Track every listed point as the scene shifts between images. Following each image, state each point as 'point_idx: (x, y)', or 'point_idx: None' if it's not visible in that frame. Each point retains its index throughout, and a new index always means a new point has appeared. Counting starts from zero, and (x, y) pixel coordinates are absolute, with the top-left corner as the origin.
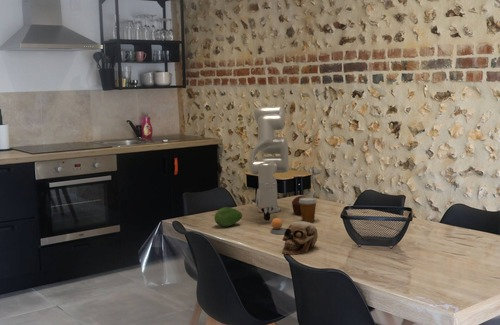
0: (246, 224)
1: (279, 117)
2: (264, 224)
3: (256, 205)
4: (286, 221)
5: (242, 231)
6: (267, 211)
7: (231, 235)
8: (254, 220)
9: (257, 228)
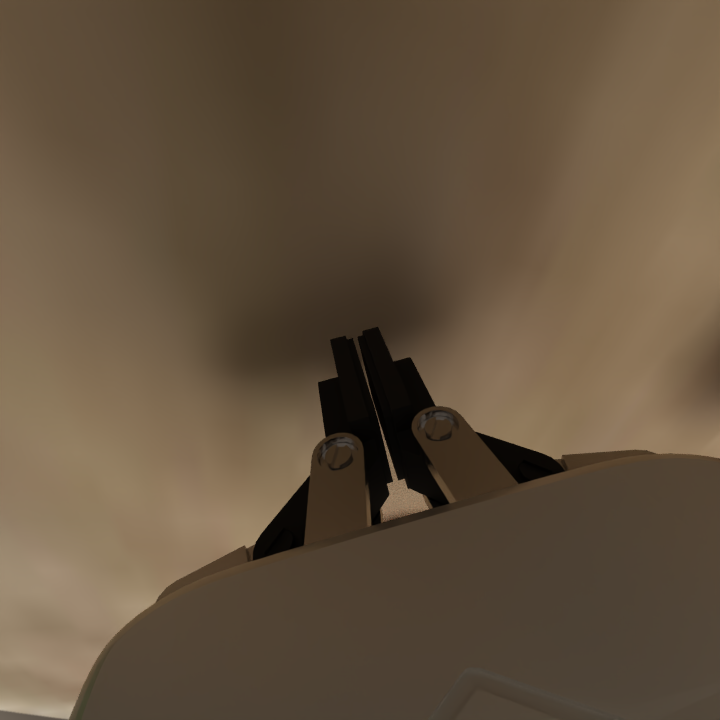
0: (24, 366)
1: None
2: (309, 399)
3: (90, 700)
4: (610, 300)
5: (82, 594)
6: (414, 465)
7: (15, 663)
8: (109, 56)
9: (225, 525)
